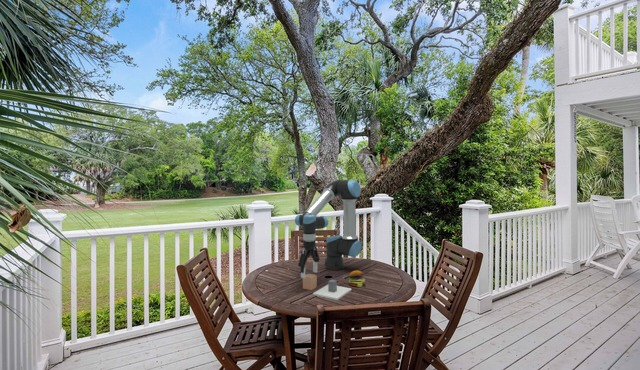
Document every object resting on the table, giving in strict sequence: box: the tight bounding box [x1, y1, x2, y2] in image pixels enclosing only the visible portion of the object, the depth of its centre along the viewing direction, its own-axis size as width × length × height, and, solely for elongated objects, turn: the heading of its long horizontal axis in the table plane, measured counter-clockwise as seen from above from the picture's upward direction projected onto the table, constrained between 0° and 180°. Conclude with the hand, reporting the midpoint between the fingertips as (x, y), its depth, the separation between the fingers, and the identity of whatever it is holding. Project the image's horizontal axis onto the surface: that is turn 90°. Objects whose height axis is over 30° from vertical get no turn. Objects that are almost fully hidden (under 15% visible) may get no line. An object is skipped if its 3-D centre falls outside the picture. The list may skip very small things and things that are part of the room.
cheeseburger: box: [348, 270, 366, 288], centre depth 215 cm, size 10×11×10 cm
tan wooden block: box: [302, 273, 318, 291], centre depth 209 cm, size 6×6×8 cm
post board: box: [312, 279, 352, 301], centre depth 201 cm, size 18×16×7 cm
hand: (309, 274), depth 209 cm, fingers open, 13 cm apart
